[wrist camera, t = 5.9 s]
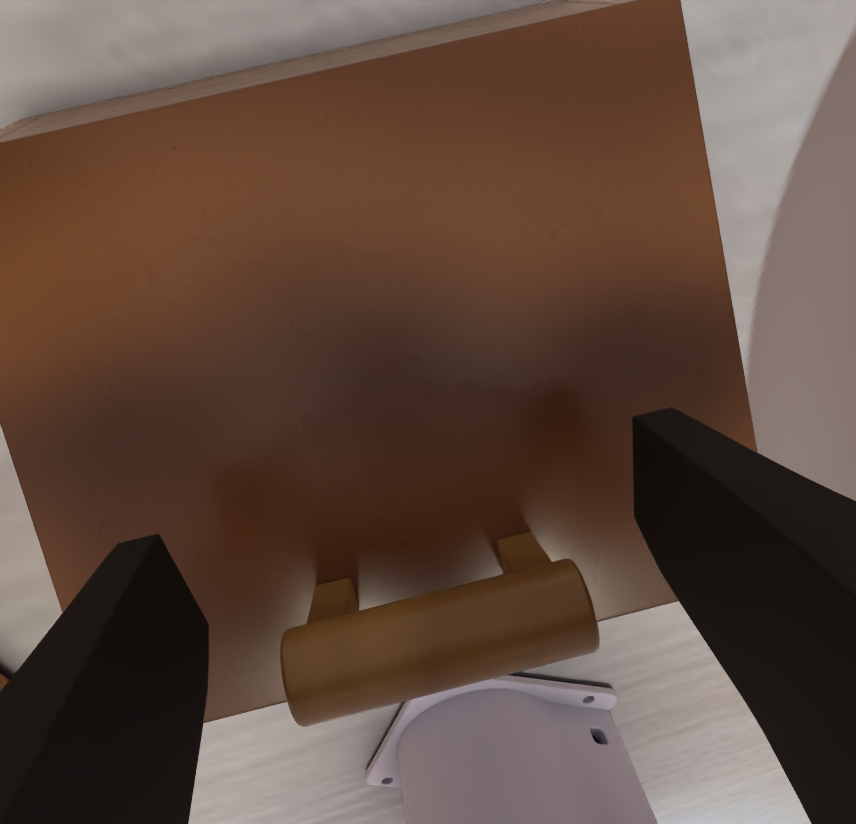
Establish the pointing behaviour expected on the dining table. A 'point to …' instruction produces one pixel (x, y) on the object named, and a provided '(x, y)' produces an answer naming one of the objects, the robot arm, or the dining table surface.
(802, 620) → the robot arm
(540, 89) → the box lid
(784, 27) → the dining table surface
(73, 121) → the trinket box
